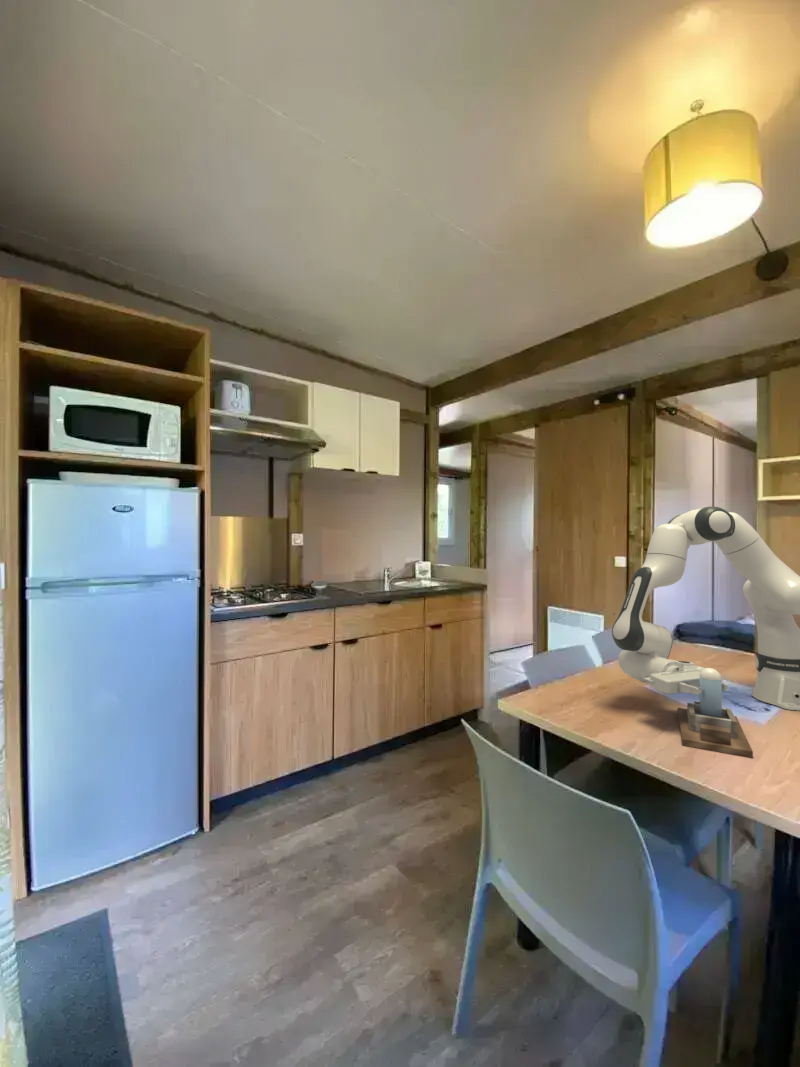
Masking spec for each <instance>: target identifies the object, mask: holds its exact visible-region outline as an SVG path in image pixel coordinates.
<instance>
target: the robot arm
mask: <svg viewBox="0 0 800 1067" xmlns="http://www.w3.org/2000/svg"><path fill="white" fill-rule="evenodd" d="M710 542H714V543H715V544H716V545H717V546H718V549H719V550H720V551H721V552H722V554H723V555H724V556H725V558H726V559H727V561H729V563H730V564H731V566H732V567H733V568H734V569H735V571H736V572H737V573H738V574H739V575H741V576H742V577H743V578H745V579H746V581H745V582H744V584H743V587H742V593H743V595H744V598H745V599H746V601H747V602H748V603H749V605H750V607H751V611H752V614H753V617H754V620H755V625H756V630H757V651H756V654H755V655H756V656H755V668H756V679H755V683H754V687H753V690H752V693H751V697H753V698H755V699H756V700H759V701H761V702H763V703H767V704H771V705H774V706H777V707H779V708H782V709H785V710H789V711H790V710H792V711H800V627H799V626H798V625H797V623H796V621H795V619H794V616H795V615H797V616H798V615H800V575H799V574H797V572H795V571H794V570H793V569H792V568H790V567H789V566H788V565H787V564H785V562H784V561H782V560H781V559H780V558H779V557H778V556H777V555H776V554H775V553H774V552H773V550H771V548H770V547H769V545H767V543H766V542H765V540H764V539H763V538H762V537H761V536H760V534H759V533H758V532H757V531H756V530H755V528H754V527H753V526H752V525H751V524H750V523H749V522H748V521H747V520H745V518H743V516H741V515H740V514H738V513H737V512H732V511H731V512H730V511H728V510H726V509H724V508H722V507H718V506H705V507H703V508H697V509H692V510H689V511H686V512H685V513H682V514H678V515H676V516H673V518H670V520H669V521H668V522H667V523H664V524H663V523H662V524H659V525H658V526H657V527H655V529H654V530H653V533H652V535H651V538H650V540H649V543H648V548H647V551H646V555H645V559H644V562H643V564H642V565H641V567H640V568H638V569H637V570H636V571H635V572H634V574H633V576H632V578H631V580H630V583H629V586H628V589H627V591H626V593H625V594H626V595H625V598H624V601H623V602H622V606H621V609H620V612H619V614H618V616H617V618H616V619H615V621H614V623H613V625H612V629H611V635H612V639H613V641H614V643H615V645H616V646H617V647H618V648H619V649H621V651H620V653H619V654H618V657H617V660H618V661H617V662H618V666H619V668H620V669H621V671H622V672H623V673H624V674H626V675H627V676H628V677H630V678H632V679H635V680H637V681H639V682H642V683H646V684H647V683H648V684H649V685H650V687H652V688H653V689H654V690H657V691H658V692H661V693H663V694H668V695H673V694H680V693H681V694H682V693H686V694H692V695H695V696H698V695H699V696H700V694H702V692H701V691H702V689H701V688H700V672H701V671H702V670H703V669H705V668H706V667H703V666H700V665H695V663H694V662H691V661H686V660H675V659H671V658H670V659H669V657H670V654H671V651H672V648H673V643H674V642H673V641H674V639H673V636H672V634H671V632H670V631H669V629H668V628H666V627H665V626H661V625H659V624H655V623H652V622H649V621H644V620H643V618H642V616H643V613H644V609H645V607H646V604H647V602H648V601H647V600H648V598H649V595H650V593H651V592H652V591H654V590H655V589H657V588H663V587H669V586H673V585H674V584H676V583H677V582H679V581H680V580H681V579H682V578H683V576H684V573H685V570H686V565H687V559H688V557H687V556H688V550H689V548H690V547H691V546H697V545H704V544H706V543H707V544H708V543H710ZM793 615H794V616H793ZM719 674H720V675H721V681H722V692H727V691H729V684H728V683H725V682H723V676H722V674H721V673H720V672H719Z"/></svg>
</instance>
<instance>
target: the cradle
mask: <svg viewBox="0 0 800 1067" xmlns="http://www.w3.org/2000/svg"><path fill="white" fill-rule="evenodd" d="M686 706H687V708H682V707H677V718H678V724H679V730H680V738H681V744H682V746H685V747H690V748H695V749H701V750H706V751H713V752H718V753H723V754H728V755H732V756H733V755H735V756H739V757H744V758H745V757H746V758H749V759H753V758H754V756H753V755H754V751H753V749H752V747H751V745H750V742H749V741H748V738H747V737H746V734H745V732H744V730H743V728H742V725H741V724H740V721H739V719H738V717H737V716H736V715H734V712H733V711H732V708H726V707H722V718H718V717H711V716H705V715H700V701H693V702H687V704H686Z"/></svg>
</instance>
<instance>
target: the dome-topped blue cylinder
mask: <svg viewBox="0 0 800 1067" xmlns="http://www.w3.org/2000/svg"><path fill="white" fill-rule="evenodd" d="M704 668H705V669H703V670H702V671H701V672H700V688H701V689H702V691H701V692H702V694H699V702H700V715H705V716H711V717H718V718H722V708H723V698H722V697H723V695H722V694H723V693H722V692H723V691H722V682H723V680H722V681H721V675H722V674H721V673H720V672H719V671H718V670H716V669H714V668H711V667H704ZM719 673H720V674H721V675H720V674H719Z"/></svg>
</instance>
